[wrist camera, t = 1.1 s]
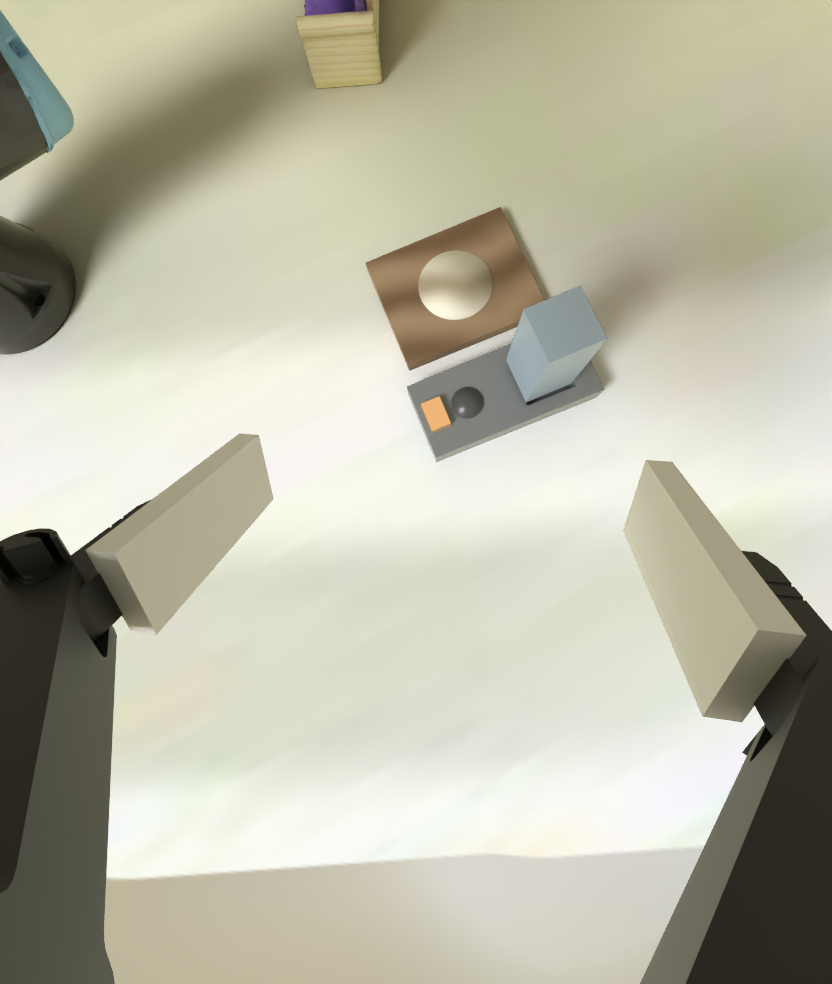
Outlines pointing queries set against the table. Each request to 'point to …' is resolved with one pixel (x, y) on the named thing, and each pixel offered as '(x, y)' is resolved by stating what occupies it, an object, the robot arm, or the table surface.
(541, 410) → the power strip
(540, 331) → the brick
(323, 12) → the toy sofa
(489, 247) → the walnut pad
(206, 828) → the table surface
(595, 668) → the table surface
